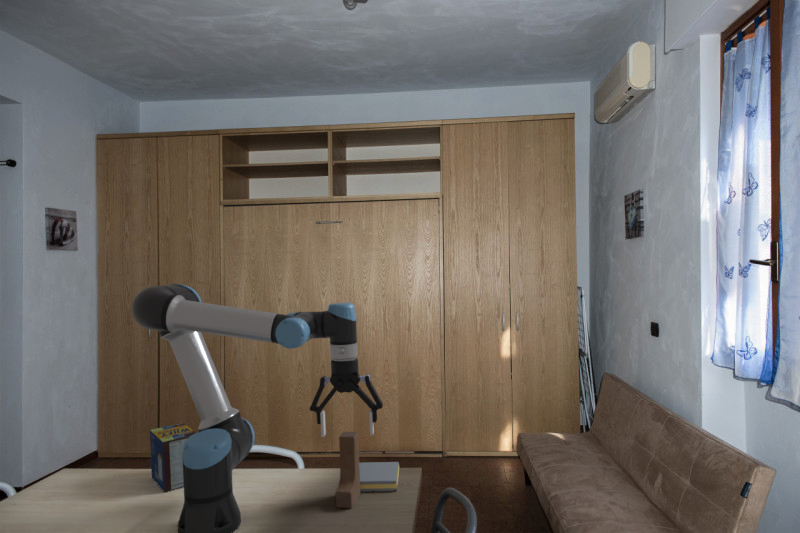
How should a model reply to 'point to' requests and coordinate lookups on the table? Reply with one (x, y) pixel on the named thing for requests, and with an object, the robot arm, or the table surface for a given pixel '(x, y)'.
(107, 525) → the table surface
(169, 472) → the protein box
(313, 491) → the table surface
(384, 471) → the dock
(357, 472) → the wooden block
